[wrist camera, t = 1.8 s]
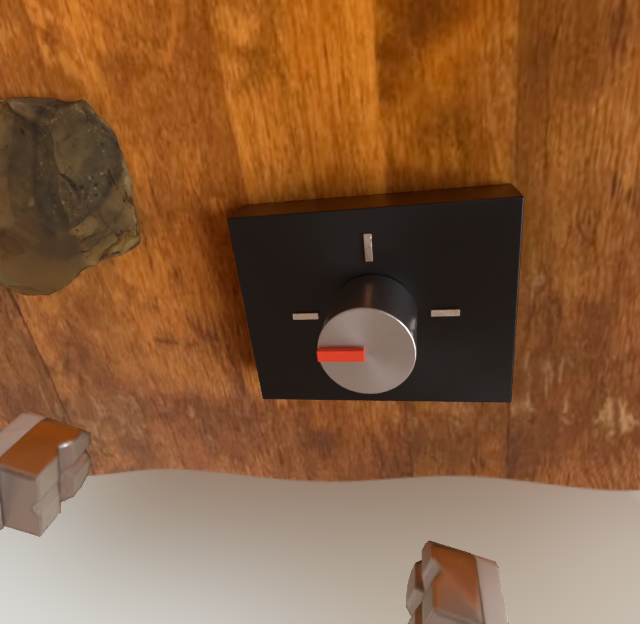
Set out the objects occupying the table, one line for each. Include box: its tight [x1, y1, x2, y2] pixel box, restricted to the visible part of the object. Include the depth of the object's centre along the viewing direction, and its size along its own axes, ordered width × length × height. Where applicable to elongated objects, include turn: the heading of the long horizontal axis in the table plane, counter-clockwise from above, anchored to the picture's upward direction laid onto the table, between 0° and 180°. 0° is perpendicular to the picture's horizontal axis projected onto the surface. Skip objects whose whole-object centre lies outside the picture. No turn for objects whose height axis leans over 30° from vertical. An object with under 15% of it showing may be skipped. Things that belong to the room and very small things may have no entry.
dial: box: [317, 275, 417, 394], centre depth 23 cm, size 4×4×4 cm
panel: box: [227, 184, 524, 402], centre depth 26 cm, size 14×11×3 cm
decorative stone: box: [0, 97, 140, 296], centre depth 27 cm, size 10×9×4 cm
